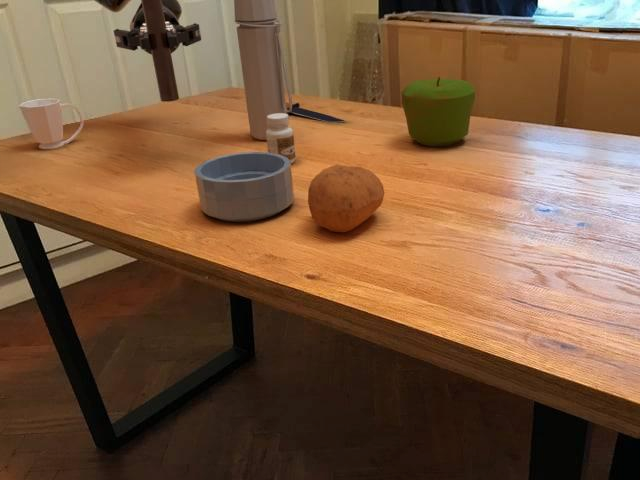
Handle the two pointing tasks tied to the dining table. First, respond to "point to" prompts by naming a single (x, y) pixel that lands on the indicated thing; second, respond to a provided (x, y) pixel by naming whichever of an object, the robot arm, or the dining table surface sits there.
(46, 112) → the cup
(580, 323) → the dining table surface
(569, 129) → the dining table surface
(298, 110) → the knife
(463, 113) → the apple
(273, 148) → the pill bottle
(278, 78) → the water bottle
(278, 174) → the bowl
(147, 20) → the stick
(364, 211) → the potato
